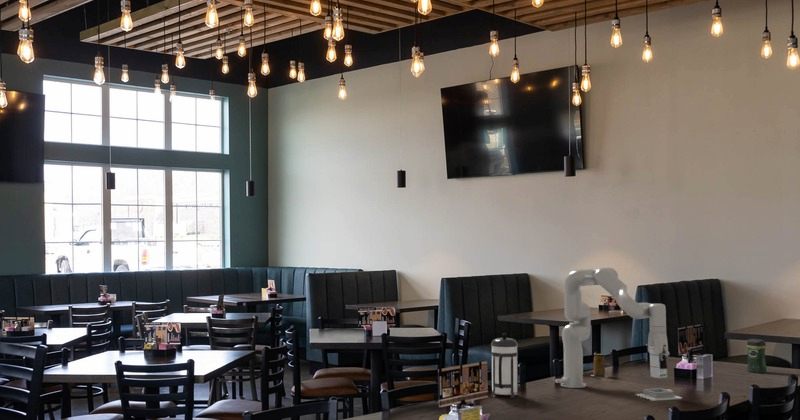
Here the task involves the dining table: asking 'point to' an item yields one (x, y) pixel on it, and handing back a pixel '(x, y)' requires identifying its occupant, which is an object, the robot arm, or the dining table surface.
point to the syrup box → (657, 365)
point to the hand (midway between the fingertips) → (658, 367)
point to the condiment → (599, 366)
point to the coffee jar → (756, 355)
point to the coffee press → (504, 366)
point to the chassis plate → (658, 394)
